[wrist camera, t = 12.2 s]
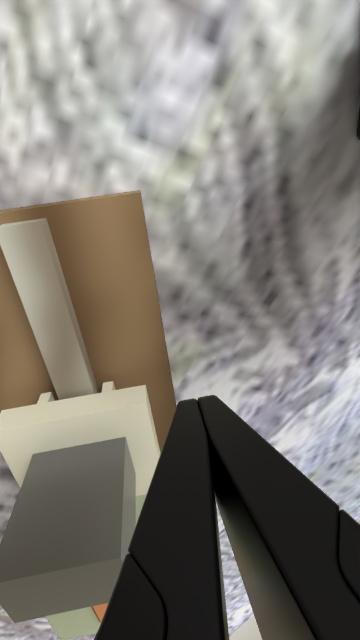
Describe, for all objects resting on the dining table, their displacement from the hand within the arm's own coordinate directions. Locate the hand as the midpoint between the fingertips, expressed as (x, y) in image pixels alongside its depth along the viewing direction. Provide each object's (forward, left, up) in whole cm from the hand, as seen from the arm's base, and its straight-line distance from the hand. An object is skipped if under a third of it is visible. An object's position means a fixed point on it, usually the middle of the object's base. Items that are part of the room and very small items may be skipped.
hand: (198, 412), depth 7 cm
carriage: (+6, +9, -9) cm, 14 cm away
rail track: (+6, +9, -12) cm, 16 cm away
